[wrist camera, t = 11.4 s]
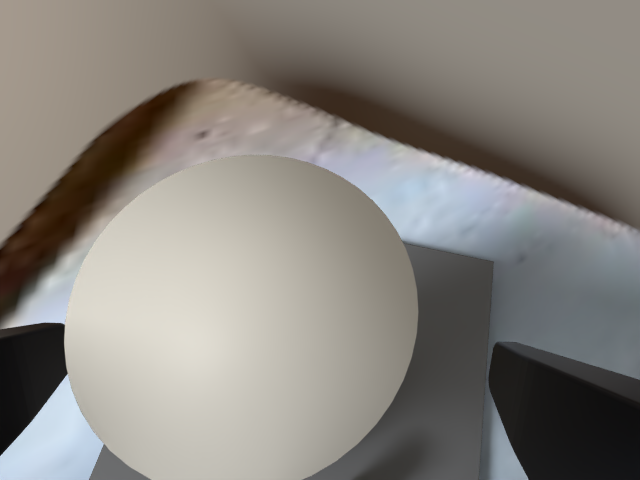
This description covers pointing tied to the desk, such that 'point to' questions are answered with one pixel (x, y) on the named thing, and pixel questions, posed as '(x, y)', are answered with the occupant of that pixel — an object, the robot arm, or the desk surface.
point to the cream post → (241, 322)
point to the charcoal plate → (419, 385)
